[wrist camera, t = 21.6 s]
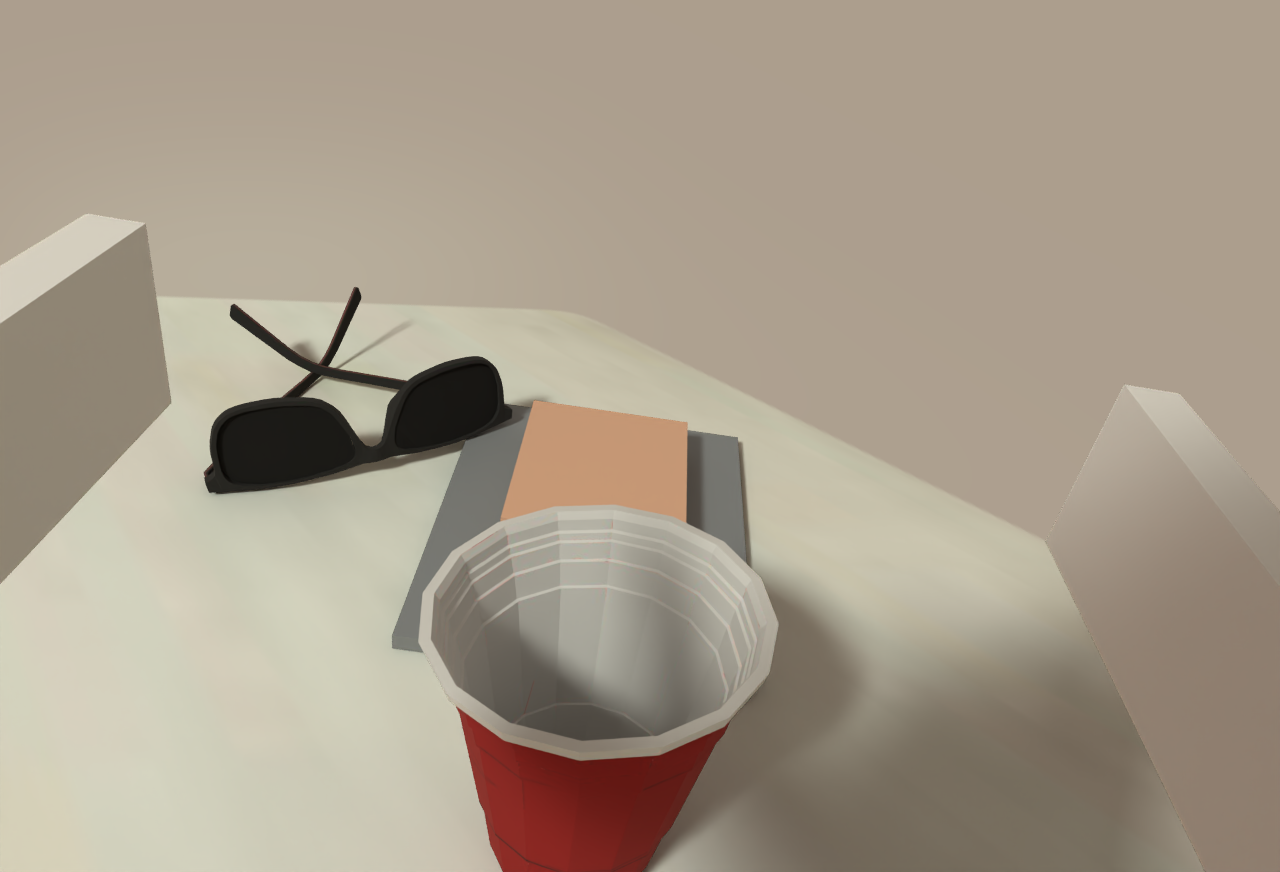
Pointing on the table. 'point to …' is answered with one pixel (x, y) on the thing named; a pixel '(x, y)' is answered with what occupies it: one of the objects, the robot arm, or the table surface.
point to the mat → (487, 482)
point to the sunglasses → (320, 435)
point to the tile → (599, 462)
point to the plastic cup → (593, 675)
